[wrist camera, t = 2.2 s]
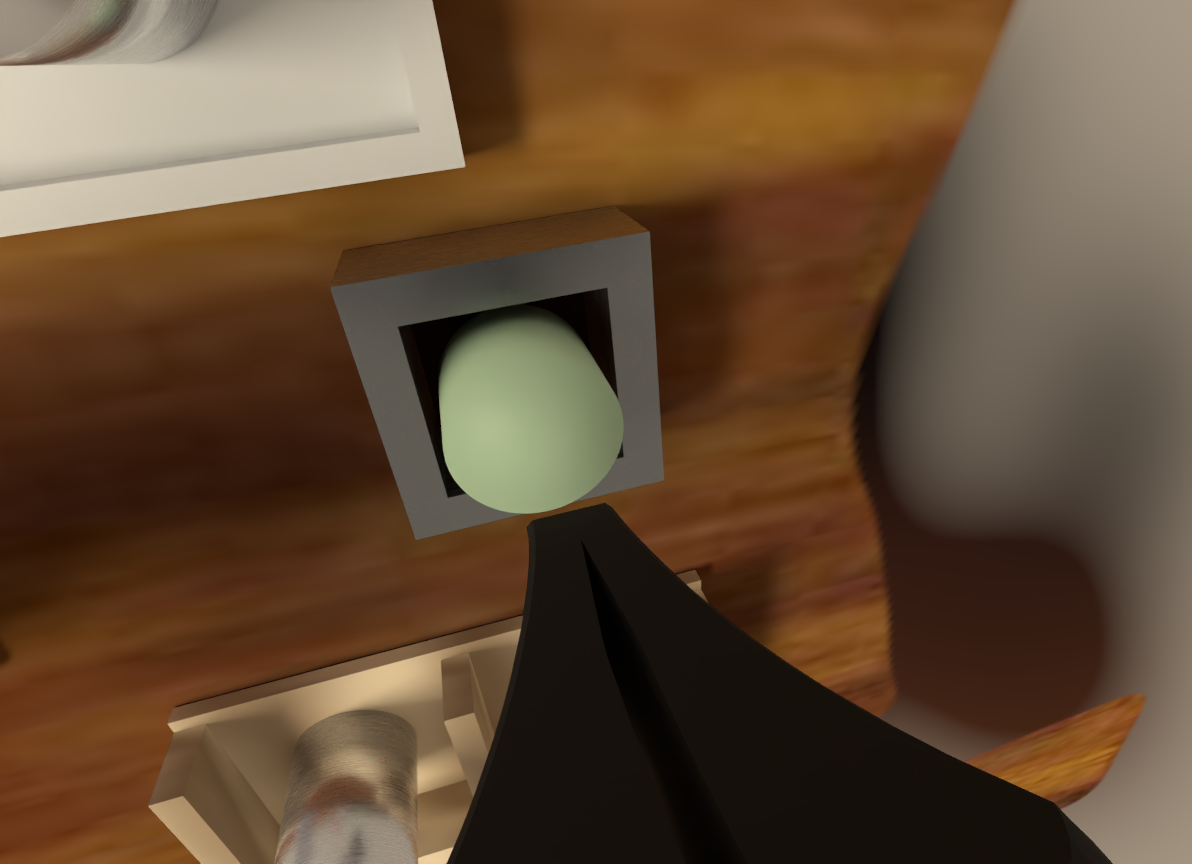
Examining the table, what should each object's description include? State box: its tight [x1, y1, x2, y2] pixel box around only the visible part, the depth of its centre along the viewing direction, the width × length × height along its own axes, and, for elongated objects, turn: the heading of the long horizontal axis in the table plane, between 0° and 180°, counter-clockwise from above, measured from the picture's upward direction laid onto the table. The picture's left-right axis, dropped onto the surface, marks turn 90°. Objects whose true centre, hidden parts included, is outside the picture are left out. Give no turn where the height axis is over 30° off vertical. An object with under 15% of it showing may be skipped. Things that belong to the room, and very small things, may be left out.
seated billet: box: [274, 710, 418, 864], centre depth 21 cm, size 4×4×6 cm
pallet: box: [148, 570, 708, 864], centre depth 24 cm, size 19×9×3 cm, turn 96°
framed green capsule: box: [330, 206, 664, 540], centre depth 17 cm, size 7×7×3 cm
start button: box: [438, 305, 624, 514], centre depth 15 cm, size 4×4×3 cm
